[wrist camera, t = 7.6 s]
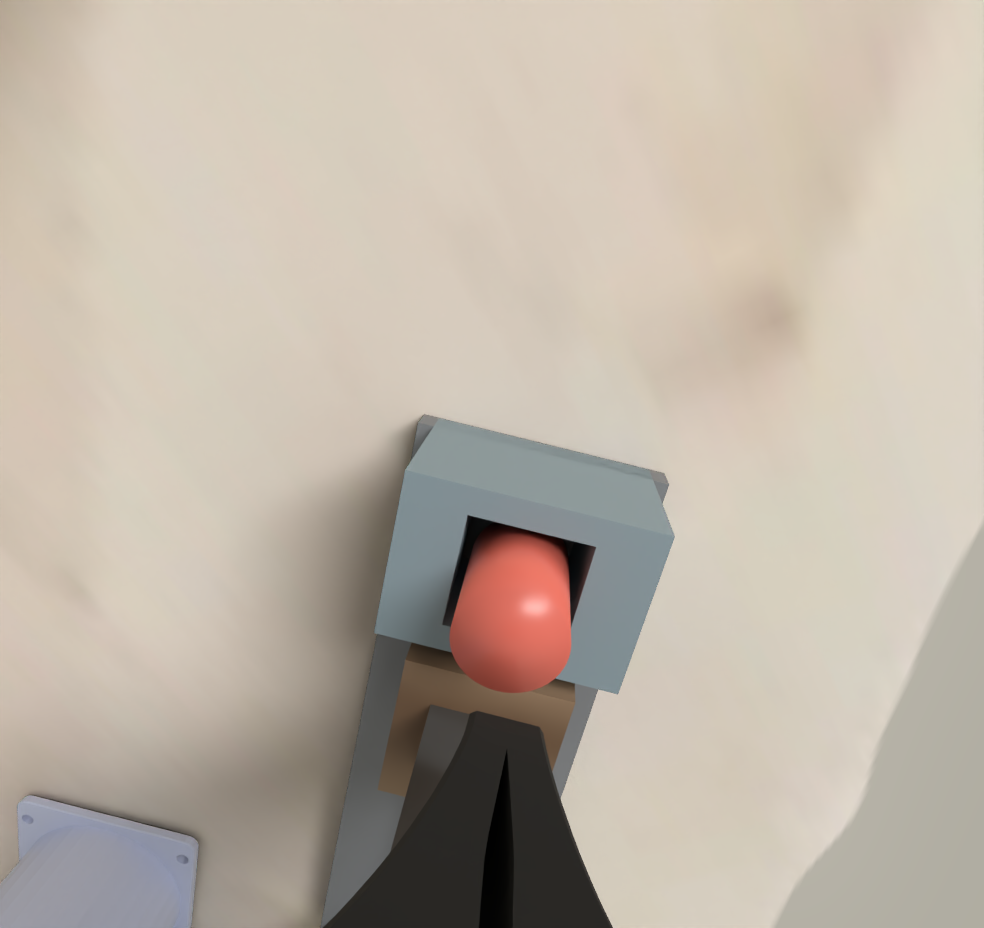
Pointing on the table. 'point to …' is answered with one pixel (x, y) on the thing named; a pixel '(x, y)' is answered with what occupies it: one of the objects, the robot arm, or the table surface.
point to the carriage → (454, 723)
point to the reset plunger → (513, 610)
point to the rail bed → (440, 574)
